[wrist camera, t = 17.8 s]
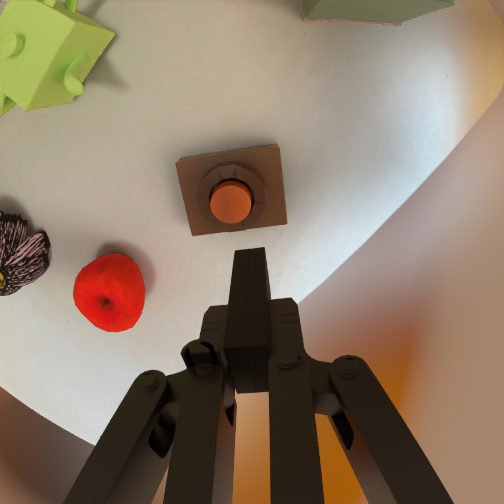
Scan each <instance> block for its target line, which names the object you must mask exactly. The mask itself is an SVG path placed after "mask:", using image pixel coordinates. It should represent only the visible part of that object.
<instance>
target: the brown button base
mask: <svg viewBox="0 0 504 504" xmlns="http://www.w3.org/2000/svg"><path fill="white" fill-rule="evenodd" d="M176 168H177V173H178V177H179V182H180V186H181V191H182V195H183V199H184V204H185V208H186V212H187V216H188V221H189V225H190V229H191V233H192V236H197V235H205V234H213V233H220V232H235V231H243V230H246V229H252V228H260V227H268V226H277V225H285V224H287V213H286V203H285V194H284V184H283V175H282V166H281V158H280V149H279V146H278V144H272V145H263V146H255V147H248V148H240V149H234V150H227V151H220V152H214V153H208V154H202V155H197V156H191V157H186V158H181V159H180V160H179V161H177V162H176ZM229 180H234V181H238V182H241V183H242V184H244V185H245V186H246V187H247V188H248V190H249V191H250V194H251V209H250V212H249V214H248V215H247V217H246V218H245V219H243V220H242V221H240V222H237V223H225V222H222V221H220V220H219V219H217V218H216V217H215V216H214V214H213V213H212V210H211V206H210V202H211V198H212V195H213V192H214V190H215V189H216V187H217V186H218V185H219V184H221V183H222V182H225V181H229Z"/></svg>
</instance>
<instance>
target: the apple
mask: <svg viewBox="0 0 504 504" xmlns="http://www.w3.org/2000/svg"><path fill="white" fill-rule="evenodd" d="M73 298H74V301H75V305H76V307H77V308H78V309H79V311H80V312H81V313H82V314H83V315H84V316H85V317H86V318H87V319H88V320H89V321H90V322H91V323H92V324H93V325H95V326H96V327H98V328H100V329H102V330H105V331H107V332H120V331H124V330H127V329H129V328H132V327H133V326H134V325H135V324H136V322H137V321H138V319H139V318H140V316H141V314H142V310H143V307H144V300H145V285H144V281H143V277H142V275H141V272H140V269H139V267H138V265H137V264H136V263H135V262H134V261H133V260H132V259H130V258H129V257H127V256H125V255H123V254H118V253H115V254H109V255H104V256H102V257H99V258H97V259H96V260H94V261H92V262H91V263H89V264H88V265H87V266H85V267H84V268H82V270H81V271H80V272H79V274H78V276H77V277H76V280H75V285H74V290H73Z"/></svg>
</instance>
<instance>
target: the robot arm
mask: <svg viewBox="0 0 504 504" xmlns="http://www.w3.org/2000/svg"><path fill="white" fill-rule="evenodd" d="M181 356H182V358H183V360H184V362H185V364H186V367H187V369H185V370H183V371H181V372H178V373H175V374H171V375H168V376H165V375H164V374H163V372H160V371H158V370H149V371H145V372H143V373H142V374H140V375H139V376H138V377H137V378H136V379H135V381H134V382H133V384H132V385H131V387H130V389H129V390H128V392H127V394H126V395H125V397H124V399H123V400H122V402H121V404H120V405H119V407H118V409H117V410H116V412H115V414H114V415H113V417H112V419H111V420H110V422H109V424H108V425H107V427H106V429H105V430H104V432H103V434H102V435H101V437H100V439H99V441H98V442H97V444H96V446H95V448H94V449H93V451H92V453H91V455H90V456H89V458H88V460H87V461H86V463H85V465H84V467H83V468H82V470H81V472H80V474H79V476H78V477H77V479H76V481H75V483H74V484H73V486H72V488H71V490H70V491H69V493H68V495H67V497H66V499H65V501H64V502H63V504H151V503H152V500H153V498H154V496H155V494H156V492H157V490H158V488H159V485H160V483H161V481H162V479H163V477H164V474H165V472H166V470H167V468H168V466H169V469H168V475H167V481H166V487H165V494H164V500H163V504H232V494H233V473H234V452H235V451H234V450H235V432H236V413H237V404H236V400H235V388H236V392H237V394H240V393H257V392H269V421H270V423H269V424H270V483H271V484H270V485H271V486H270V490H271V504H324V494H323V484H322V474H321V466H320V456H319V447H318V439H317V430H316V422H315V414H314V413H317V414H323V415H327V417H328V419H329V421H330V423H331V425H332V427H333V429H334V431H335V433H336V435H337V438H338V440H339V442H340V444H341V446H342V448H343V450H344V452H345V454H346V456H347V459H348V461H349V463H350V465H351V467H352V469H353V471H354V473H355V475H356V477H357V479H358V482H359V484H360V486H361V488H362V490H363V492H364V494H365V496H366V499H367V501H368V503H369V504H454V503H453V501H452V499H451V498H450V496H449V494H448V492H447V491H446V489H445V488H444V486H443V484H442V482H441V481H440V479H439V477H438V476H437V474H436V472H435V471H434V469H433V467H432V466H431V464H430V462H429V461H428V459H427V457H426V456H425V454H424V452H423V451H422V449H421V448H420V446H419V444H418V443H417V441H416V440H415V438H414V436H413V435H412V433H411V431H410V430H409V428H408V427H407V425H406V423H405V422H404V420H403V419H402V417H401V416H400V414H399V412H398V411H397V409H396V408H395V406H394V404H393V403H392V401H391V400H390V398H389V397H388V395H387V394H386V392H385V391H384V389H383V387H382V386H381V384H380V383H379V381H378V380H377V378H376V377H375V375H374V374H373V372H372V371H371V369H370V368H369V366H368V365H367V363H366V362H365V361H364V360H363V359H362V358H359V357H357V356H353V355H345V356H341V357H339V358H337V359H335V360H334V361H333V362H332V363H329V362H322V361H317V360H315V359H313V358H311V357H310V356H309V355H308V354H307V353H306V351H305V349H304V344H303V337H302V331H301V324H300V318H299V312H298V306H297V304H296V302H295V301H294V300H293V299H292V298H282V299H273V300H271V293H270V284H269V276H268V269H267V261H266V254H265V247H261V248H253V249H244V250H235V253H234V261H233V269H232V277H231V285H230V293H229V301H228V305H218V306H210V307H209V308H208V310H207V311H206V312H205V314H204V317H203V322H202V327H201V332H200V337H199V339H197V340H193V341H191V342H189V343H188V344H187V345H185V346H184V347H183V349H182V351H181Z"/></svg>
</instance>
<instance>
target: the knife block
mask: <svg viewBox="0 0 504 504" xmlns="http://www.w3.org/2000/svg"><path fill="white" fill-rule="evenodd" d="M453 5H454V1H453V0H300V6H301V11H302V17H303V21H345V22H363V23H376V24H386V25H394V26H400V25H401V22H404V21H407V20H409V19H412V18H415V17H418V16H421V15H424V14H427V13H430V12H433V11H436V10H439V9H443V8H446V7H449V6H453Z"/></svg>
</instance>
